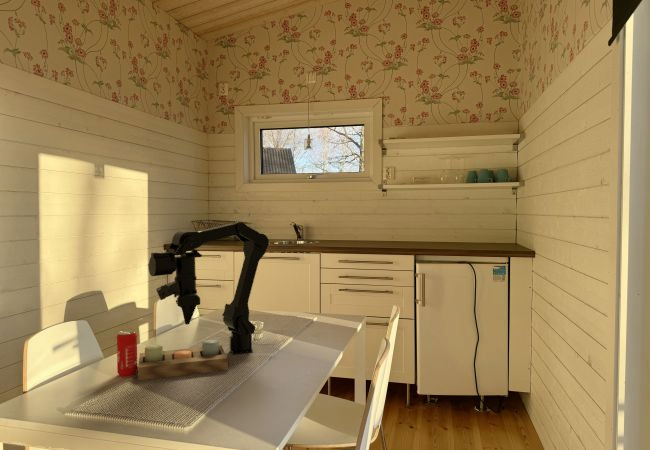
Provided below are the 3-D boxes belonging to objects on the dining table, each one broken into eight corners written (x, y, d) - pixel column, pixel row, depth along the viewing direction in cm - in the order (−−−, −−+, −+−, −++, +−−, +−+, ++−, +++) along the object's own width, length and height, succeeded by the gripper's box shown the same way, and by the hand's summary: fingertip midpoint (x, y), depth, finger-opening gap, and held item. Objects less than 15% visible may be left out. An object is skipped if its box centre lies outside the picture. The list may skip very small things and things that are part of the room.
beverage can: (130, 378, 130) (129, 335, 130) (113, 377, 131) (112, 334, 131) (141, 372, 135) (140, 330, 135) (125, 371, 136) (124, 329, 136)
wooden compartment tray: (221, 356, 150) (221, 345, 150) (227, 370, 137) (227, 358, 137) (140, 364, 142) (139, 353, 142) (138, 380, 129) (138, 367, 129)
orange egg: (190, 363, 142) (190, 349, 142) (192, 368, 138) (191, 354, 138) (174, 364, 141) (173, 351, 141) (174, 369, 136) (174, 356, 136)
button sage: (162, 357, 140) (162, 344, 139) (162, 362, 135) (162, 348, 135) (145, 359, 138) (145, 345, 138) (144, 364, 133) (144, 350, 133)
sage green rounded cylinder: (217, 352, 145) (217, 339, 145) (219, 356, 140) (219, 343, 140) (201, 353, 143) (201, 340, 143) (203, 358, 139) (203, 344, 139)
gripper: (156, 271, 149) (158, 320, 149) (158, 278, 132) (160, 334, 132) (193, 268, 153) (194, 316, 153) (199, 276, 136) (201, 330, 136)
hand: (187, 324), depth 144 cm, fingers closed
